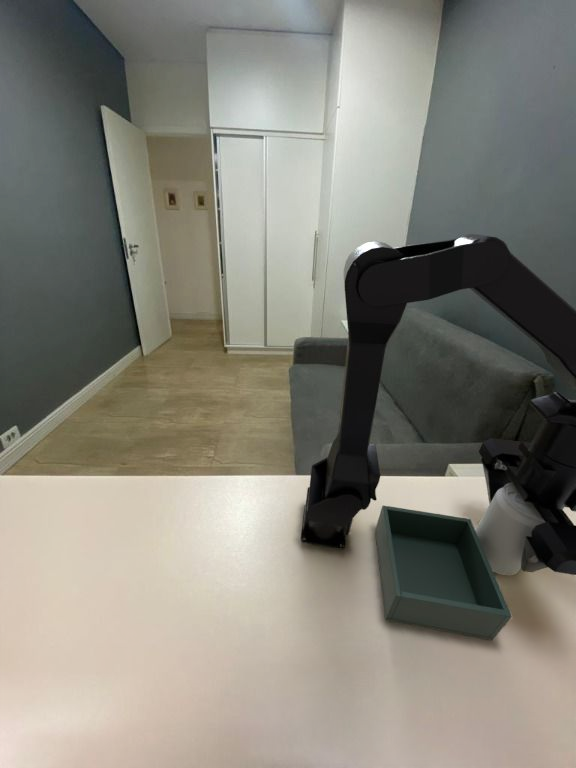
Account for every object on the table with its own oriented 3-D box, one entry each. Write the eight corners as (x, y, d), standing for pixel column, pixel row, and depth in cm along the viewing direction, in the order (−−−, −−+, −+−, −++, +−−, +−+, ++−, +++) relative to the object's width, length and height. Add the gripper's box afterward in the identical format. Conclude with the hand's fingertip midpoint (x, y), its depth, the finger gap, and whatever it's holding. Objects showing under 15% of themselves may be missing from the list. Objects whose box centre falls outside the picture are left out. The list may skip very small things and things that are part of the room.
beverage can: (526, 583, 42) (572, 526, 36) (475, 571, 42) (512, 514, 37) (507, 540, 47) (544, 485, 41) (462, 531, 48) (492, 475, 42)
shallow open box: (385, 619, 37) (395, 595, 34) (375, 529, 47) (382, 505, 45) (492, 640, 36) (512, 616, 33) (457, 542, 46) (470, 518, 43)
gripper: (735, 537, 26) (627, 627, 34) (583, 413, 42) (534, 493, 50) (591, 517, 27) (518, 608, 35) (497, 404, 43) (461, 483, 51)
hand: (508, 537), depth 43 cm, fingers open, 9 cm apart
